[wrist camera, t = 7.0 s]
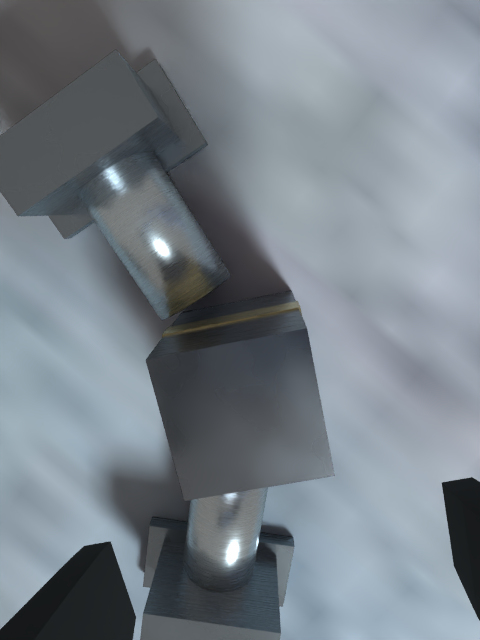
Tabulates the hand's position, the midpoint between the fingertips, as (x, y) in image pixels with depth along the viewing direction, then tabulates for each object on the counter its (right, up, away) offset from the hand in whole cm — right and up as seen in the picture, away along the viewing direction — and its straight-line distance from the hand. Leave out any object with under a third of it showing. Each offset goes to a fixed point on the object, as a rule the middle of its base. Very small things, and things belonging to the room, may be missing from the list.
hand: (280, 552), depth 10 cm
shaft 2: (-1, -3, +11) cm, 11 cm away
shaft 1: (-4, +9, +8) cm, 13 cm away
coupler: (-1, +4, +9) cm, 10 cm away
